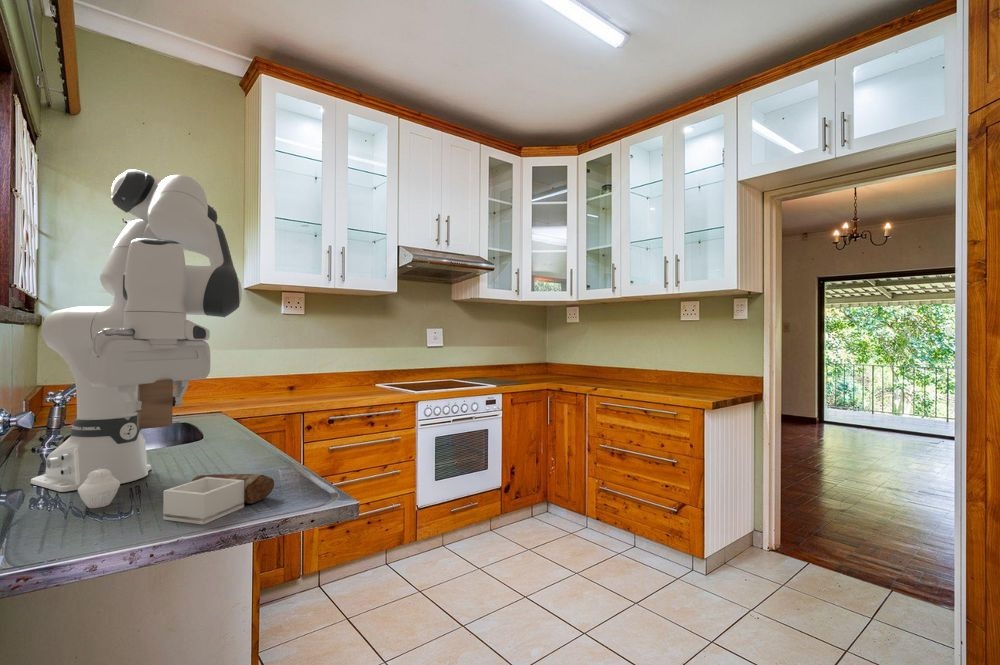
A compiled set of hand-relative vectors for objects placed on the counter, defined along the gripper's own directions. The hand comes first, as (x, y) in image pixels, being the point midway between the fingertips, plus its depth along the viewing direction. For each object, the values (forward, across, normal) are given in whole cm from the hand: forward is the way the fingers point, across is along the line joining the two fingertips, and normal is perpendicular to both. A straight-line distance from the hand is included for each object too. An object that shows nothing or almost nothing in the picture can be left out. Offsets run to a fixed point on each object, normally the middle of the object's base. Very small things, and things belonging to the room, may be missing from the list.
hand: (155, 409), depth 84 cm
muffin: (+19, +4, +17) cm, 26 cm away
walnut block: (+3, 0, 0) cm, 3 cm away
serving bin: (+19, +5, -6) cm, 21 cm away
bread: (+20, +13, -3) cm, 24 cm away
